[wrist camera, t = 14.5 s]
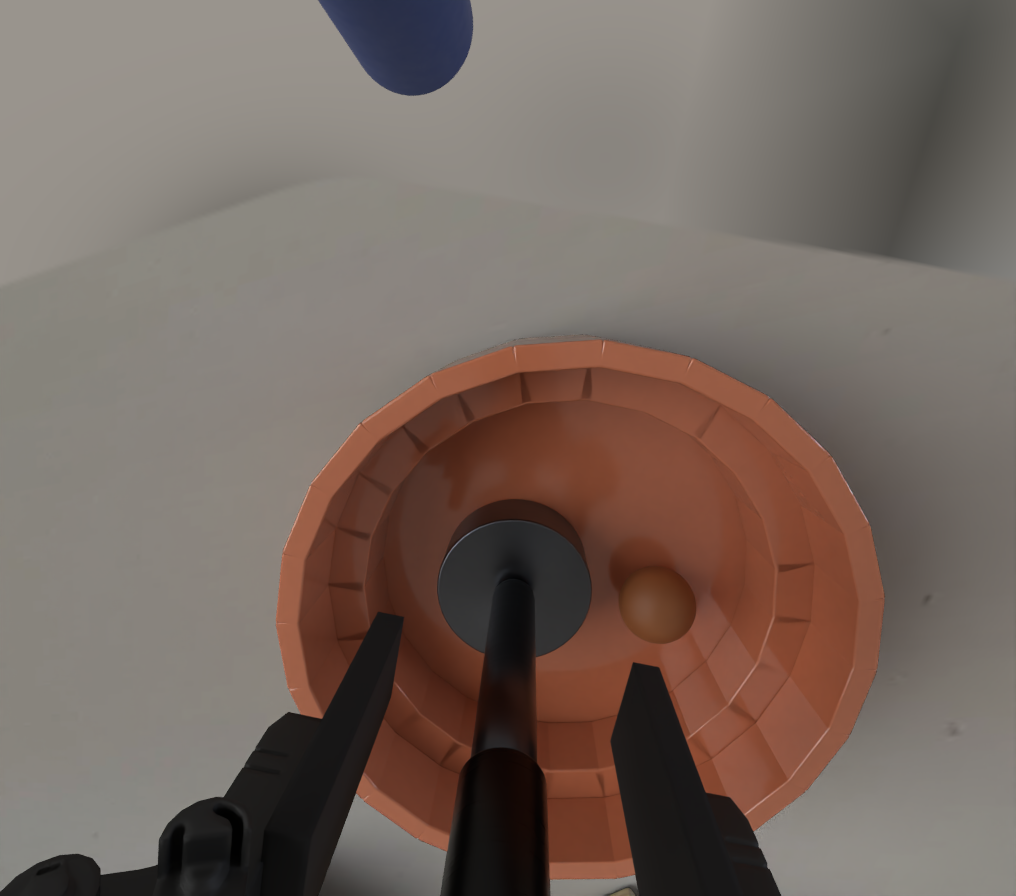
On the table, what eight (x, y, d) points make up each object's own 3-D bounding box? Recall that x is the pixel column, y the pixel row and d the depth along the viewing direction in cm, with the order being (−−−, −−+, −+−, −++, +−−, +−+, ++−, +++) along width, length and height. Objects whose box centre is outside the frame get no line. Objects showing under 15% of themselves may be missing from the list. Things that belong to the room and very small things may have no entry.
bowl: (374, 291, 21) (308, 279, 15) (851, 387, 21) (986, 415, 15) (322, 700, 26) (255, 823, 20) (713, 777, 26) (771, 924, 20)
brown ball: (650, 590, 19) (722, 596, 20) (618, 549, 22) (682, 555, 23) (628, 659, 20) (697, 662, 21) (599, 611, 23) (661, 615, 23)
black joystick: (460, 484, 22) (257, 962, 6) (601, 515, 22) (804, 1076, 6) (434, 611, 23) (213, 1285, 7) (567, 639, 23) (651, 1372, 7)
